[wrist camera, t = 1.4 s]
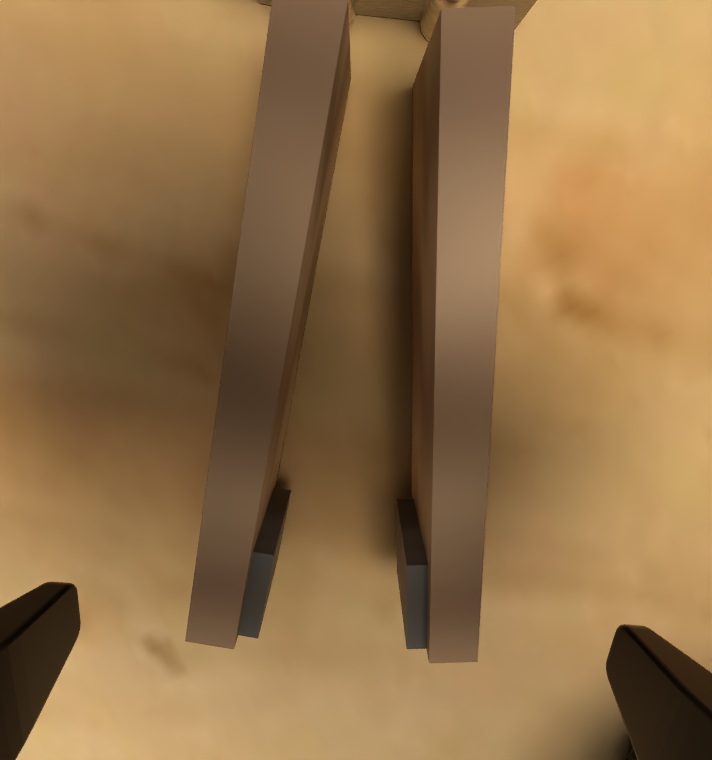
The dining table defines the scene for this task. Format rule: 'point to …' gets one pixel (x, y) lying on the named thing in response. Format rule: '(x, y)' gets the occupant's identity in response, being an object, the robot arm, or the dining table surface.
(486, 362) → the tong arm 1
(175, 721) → the dining table surface
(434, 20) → the grey block
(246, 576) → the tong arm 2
